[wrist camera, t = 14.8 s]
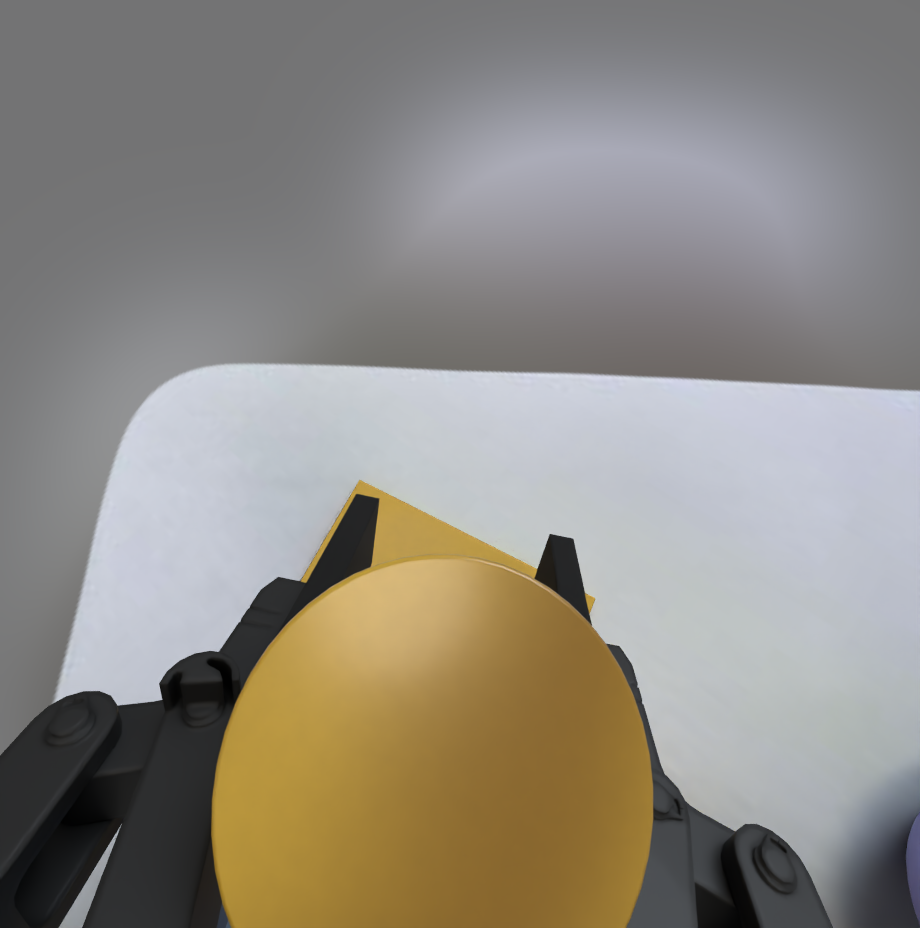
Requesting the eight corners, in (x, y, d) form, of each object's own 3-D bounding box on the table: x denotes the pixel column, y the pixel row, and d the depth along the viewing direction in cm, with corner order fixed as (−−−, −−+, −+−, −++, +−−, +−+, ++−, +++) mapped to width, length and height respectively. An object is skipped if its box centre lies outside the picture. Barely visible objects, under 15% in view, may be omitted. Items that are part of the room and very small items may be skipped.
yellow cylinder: (331, 693, 16) (105, 917, 5) (402, 556, 18) (356, 487, 7) (465, 766, 16) (557, 1188, 5) (527, 620, 18) (710, 665, 6)
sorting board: (111, 911, 22) (103, 920, 21) (360, 481, 28) (359, 479, 28) (405, 1086, 21) (404, 1101, 20) (592, 598, 27) (595, 598, 27)
